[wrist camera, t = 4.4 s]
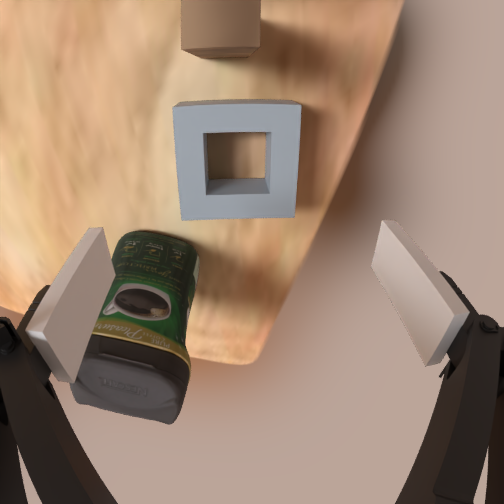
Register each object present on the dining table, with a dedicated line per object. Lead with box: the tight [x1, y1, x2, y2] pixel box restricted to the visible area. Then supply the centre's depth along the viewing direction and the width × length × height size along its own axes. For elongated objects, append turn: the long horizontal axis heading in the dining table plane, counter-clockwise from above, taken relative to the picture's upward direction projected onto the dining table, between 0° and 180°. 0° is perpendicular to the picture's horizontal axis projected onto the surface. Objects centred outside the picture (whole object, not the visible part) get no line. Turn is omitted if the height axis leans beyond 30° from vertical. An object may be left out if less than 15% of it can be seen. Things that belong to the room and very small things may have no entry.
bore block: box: [173, 99, 301, 221], centre depth 27 cm, size 10×10×4 cm
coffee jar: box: [70, 231, 200, 424], centre depth 26 cm, size 10×8×19 cm
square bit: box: [181, 0, 261, 58], centre depth 17 cm, size 4×4×12 cm
